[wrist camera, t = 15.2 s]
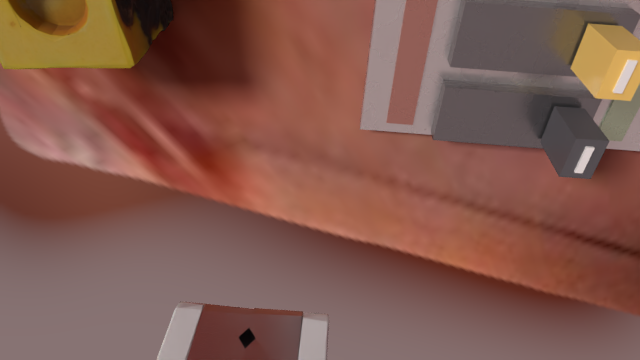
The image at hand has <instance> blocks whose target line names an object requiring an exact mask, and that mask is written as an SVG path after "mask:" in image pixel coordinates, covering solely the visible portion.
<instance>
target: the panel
mask: <svg viewBox="0 0 640 360" xmlns="http://www.w3.org/2000/svg"><path fill="white" fill-rule="evenodd" d="M588 23H589V24H602V25H615V26H623V27H624V28H625V29H626V30H628V31H629V32H630V33H631V34H633V35H634V36H635V37H636V38H638V39H639V40H640V0H375V4H374V12H373V20H372V28H371V37H370V45H369V53H368V61H367V69H366V77H365V85H364V93H363V101H362V109H361V118H360V129H364V130H377V131H390V132H402V133H415V134H428V135H432V138H433V140H442V141H454V142H467V143H480V144H492V145H505V146H518V147H530V148H543V147H542V145H541V143H540V141H541V139H542V136H543V134H544V131H545V129H546V126H547V124H548V121H549V119H550V116H551V114H552V111H553V109H554V106H558V107H571V108H584V109H585V110H586V111H587V112H588V114H589V115H590V116H591V118H592V119H593V120H594V121H595V123H596V124H597V125H598V127H599V128H600V129H601V131H602V132H603V133H604V134H605V136H606V137H607V138H608V140H609V143H608V145H607V147H606V149H618V150H630V151H640V84H639V86H638V88H637V90H636V92H635V93H634V95H633V97H632V99H631V101H624V100H611V99H599V98H595V97H594V96H593V95H592V94H591V92H590V91H589V90H588V89H587V88H586V86H585V85H584V84H583V83H582V82H581V80H580V79H579V78H578V77H577V76H576V74H575V73H574V72H573V71H572V70H571V66H572V63H573V61H574V58H575V56H576V53H577V51H578V48H579V46H580V43H581V41H582V38H583V36H584V33H585V31H586V28H587V26H588ZM543 149H544V148H543Z"/></svg>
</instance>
